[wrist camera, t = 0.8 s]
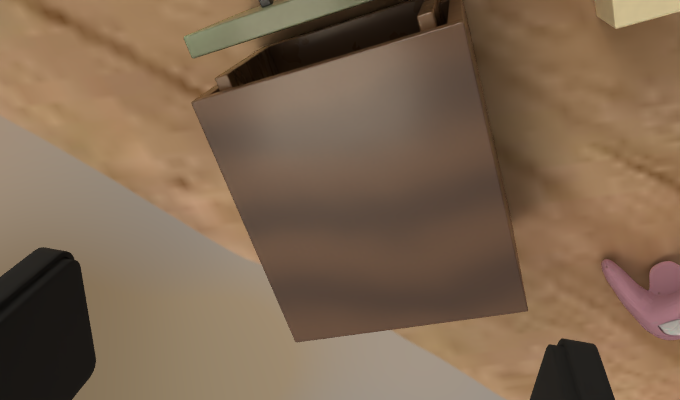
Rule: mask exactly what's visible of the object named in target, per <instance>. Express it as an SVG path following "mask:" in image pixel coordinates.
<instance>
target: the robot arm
mask: <svg viewBox="0 0 680 400" xmlns="http://www.w3.org/2000/svg"><path fill="white" fill-rule="evenodd" d="M95 363H96V357H95V351H94V345H93V339H92V333H91V327H90V321H89V315H88V309H87V303H86V297H85V291H84V285H83V279H82V273H81V267H80V264H79V263H78V261H76V260H74V257H73V255H72V254H71V253H69V252H67V251H61V250H55V249H50V248H44V247H43V248H38V249H37V250H35V251H33V252H32V253H31V254H29V255H28V256H27V257H26V258H24V259H23V260H22V261H20V262H19V263H18V264H16V265H15V266H14V267H13V268H11V269H10V270H9V271H7V272H6V273H5V274H4V275H2V276H1V277H0V400H72V399H73V398H74V396H75V395H76V393H78V391H79V390H80V389H81V388H82V386H83V385H84V384H85V383H86V381H87V380H88V379H89V378H90V376H91V375H92V373H93V371H94V368H95ZM530 400H615V398H614V395H613V392H612V390H611V387H610V384H609V381H608V378H607V375H606V372H605V369H604V366H603V363H602V361H601V358H600V355H599V352H598V349H597V347H596V345H594V344H591V343H586V342H580V341H574V340H569V339H561V340H560V341H559V342H558V344H557V346H556V345H551V344H550V345H548V346H547V348H546V351H545V354H544V357H543V360H542V363H541V367H540V370H539V373H538V376H537V379H536V382H535V385H534V388H533V391H532V394H531V398H530Z"/></svg>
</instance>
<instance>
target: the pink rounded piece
mask: <svg viewBox="0 0 680 400" xmlns="http://www.w3.org/2000/svg"><path fill="white" fill-rule="evenodd" d="M601 265H602V271H603V273H604V275H605V278H606V280H607V281H608V283H609V284H610V286H611V287H612V289H613V290H614V292H615V293H616V295H617V296H618V298H619V299H620V301H621V302H622V304H623V305H624V306H625V307H626V309H627V310H628V311H629V312H630V313H631V314H632V315H633V316H634V317H635V319H636V320H637V321H638V322H639V323H640V324H641V325H642V326H643V327H644V329H645V330H647V331H648V332H650V333H651V334H653V335H654V336H656V337H658V338H661V339H664V340H677V339H680V266H679V265H678V264H676V263H675V262H671V261H664V262H660V263H658V264H656V265H655V266H653V267H652V269H651V270H650V273H649V281H650V289H649V290H646V289H644V288H643V287H641V286H640V285H638V284H637V283H636V282H635V281H634V280H633V279H632V278H631V277H630V276H629V275H628V274H627V273H626V272H625V271H624V270H623V269H622V268H620V267H619V266H618V265H617V264H616V263H614V262H613V261H611V260H609V259H604V260H603V261H602V263H601Z"/></svg>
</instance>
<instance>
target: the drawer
mask: <svg viewBox="0 0 680 400" xmlns="http://www.w3.org/2000/svg"><path fill="white" fill-rule="evenodd" d="M370 1H373V0H276V1H273V0H259V2H260V4H261V6H259V7H256V8H253V9H250V10H247V11H244V12H241V13H239V14H236V15H234V16H232V17H229V18H227V19H225V20H222V21H220V22H217V23H215V24H213V25H210V26H208V27H205V28H203V29H201V30H198V31H196V32H194V33H191V34H189V35H186V36H184V40H185V43H186V45H187V47H188V50H189V52H190V54H191V57H192V58H197V57H200V56H203V55H206V54H209V53H212V52H215V51H218V50H222V49H225V48H228V47H231V46H234V45H237V44H240V43H243V42H246V41H249V40H252V39H256V38H259V37H262V36H265V35H268V34H271V33H274V32H277V31H280V30H283V29H286V28H289V27H293V26H296V25H299V24H302V23H305V22H308V21H311V20H314V19H317V18H320V17H323V16H327V15H330V14H333V13H336V12H339V11H342V10H345V9H348V8H351V7H354V6H357V5H360V4H364V3H367V2H370ZM441 25H445V20H444V16H443V12H442V8H441V4H440V0H410V1H407V2H404V3H401V4H398V5H395V6H391V7H388V8H385V9H382V10H379V11H376V12H373V13H369V14H366V15H363V16H360V17H357V18H354V19H350V20H347V21H344V22H341V23H338V24H335V25H332V26H328V27H325V28H322V29H319V30H316V31H313V32H309V33H306V34H303V35H300V36H297V37H294V38H291V39H287V40H284V41H281V42H278V43H275V44H272V45H268V46H265V47H262V48H261V49H259V50H258V51H256V52H255V53H253V54H252V55H250V56H248V57H247V58H245V59H244V60H242V61H241V62H239V63H238V64H236V65H235V66H233V67H231V68H230V69H228V70H227V71H225V72H224V73H222V74H221V75H219V76H218V77H216V78H215V80H216V83H217V85H218V87H219V90H220V91H223V90H227V89H230V88H233V87H237V86H240V85H243V84H247V83H250V82H253V81H257V80H260V79H263V78H267V77H270V76H274V75H277V74H280V73H284V72H287V71H290V70H294V69H297V68H300V67H304V66H307V65H310V64H314V63H317V62H320V61H324V60H327V59H331V58H334V57H337V56H341V55H344V54H347V53H351V52H354V51H357V50H361V49H364V48H367V47H371V46H374V45H378V44H381V43H384V42H388V41H391V40H394V39H398V38H401V37H404V36H408V35H411V34H414V33H418V32H421V31H424V30H428V29H431V28H435V27H438V26H441Z"/></svg>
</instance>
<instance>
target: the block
mask: <svg viewBox="0 0 680 400" xmlns="http://www.w3.org/2000/svg"><path fill="white" fill-rule="evenodd" d="M594 2H595V9H596V16H597V17H599V18H600V19H602V20H603V21H605V22H606V23H608V24H609V25H611V26H612V27H614V28H615V29H618V28H622V27H625V26H629V25H633V24H636V23H640V22H644V21H647V20H651V19H655V18H659V17H662V16H666V15H670V14H673V13H677V12H680V0H594Z"/></svg>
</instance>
